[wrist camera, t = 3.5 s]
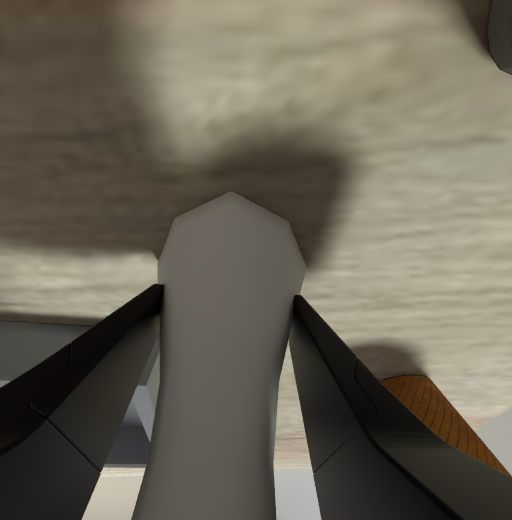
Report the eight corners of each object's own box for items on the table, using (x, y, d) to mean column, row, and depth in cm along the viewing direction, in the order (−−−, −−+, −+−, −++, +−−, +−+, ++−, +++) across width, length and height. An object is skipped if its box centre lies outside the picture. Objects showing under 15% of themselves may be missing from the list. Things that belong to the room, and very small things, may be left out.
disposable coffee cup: (335, 379, 18) (436, 689, 8) (459, 352, 17) (773, 709, 7) (351, 420, 23) (426, 646, 13) (448, 403, 22) (616, 650, 12)
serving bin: (181, 422, 23) (171, 467, 20) (26, 418, 21) (-9, 466, 18) (167, 331, 14) (146, 385, 11) (-89, 315, 13) (-187, 373, 10)
